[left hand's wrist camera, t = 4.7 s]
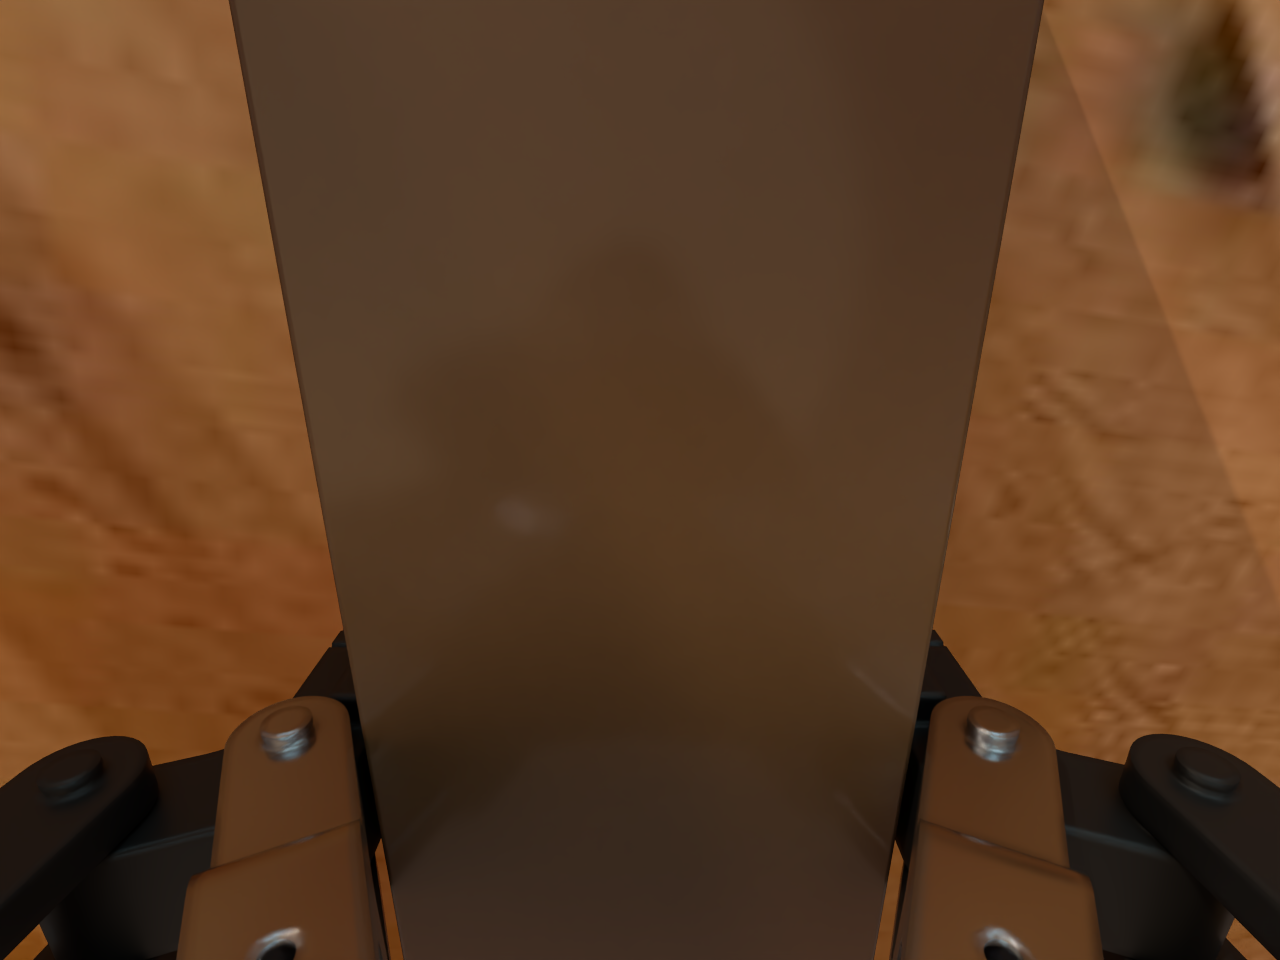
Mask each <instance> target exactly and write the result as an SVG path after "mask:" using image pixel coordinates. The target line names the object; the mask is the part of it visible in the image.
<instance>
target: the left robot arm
mask: <svg viewBox="0 0 1280 960" xmlns="http://www.w3.org/2000/svg"><path fill="white" fill-rule="evenodd" d="M381 838H382V837H381V832H380V826H379V821H378V815H377V810H376V804H375V799H374V793H373V788H372V782H371V777H370V771H369V766H368V760H367V755H366V749H365V744H364V738H363V733H362V728H361V722H360V717H359V711H358V706H357V700H356V695H355V689H354V684H353V678H352V673H351V667H350V662H349V656H348V651H347V645H346V640H345V634H344V630H343V631H340V633H339V634H338V636H337V637H336V638H335V640H334V641H333V643H332V647H329V648H328V650H327V651H326V652H325V654H324V655H323V657H322V658H321V659H320V661H319V662H318V664H317V665H316V666H315V668H314V669H313V671H312V672H311V673H310V675H309V676H308V678H307V679H306V680H305V682H304V683H303V685H302V686H301V687H300V689H299V690H298V692H297V693H296V694H295V696H294V697H293V698H292V699H288V700H284V701H281V702H278V703H275V704H273V705H270V706H268V707H266V708H264V709H262V710H260V711H258V712H256V713H255V714H253V715H252V716H250V717H249V718H247V719H246V720H245V721H243V722H242V723H241V724H240V725H239V726H238V727H237V728H236V729H235V730H234V731H233V733H232V734H231V735H230V736H229V738H228V740H227V742H226V744H225V748H224V749H222V750H220V751H216V752H212V753H209V754H204V755H200V756H195V757H191V758H186V759H182V760H177V761H173V762H168V763H164V764H159V765H155V766H152V764H151V761H150V758H149V755H148V752H147V749H146V747H145V745H144V744H143V743H141V742H140V741H139V740H136V739H134V738H130V737H125V736H110V737H101V738H95V739H91V740H87V741H83V742H80V743H77V744H74V745H71V746H68V747H66V748H63V749H61V750H59V751H56V752H54V753H52V754H50V755H48V756H46V757H44V758H42V759H41V760H39V761H37V762H36V763H34V764H32V765H31V766H29V767H28V768H26V769H25V770H24V771H22V772H21V773H19V774H18V775H17V776H15V777H14V778H13V779H12V780H10V781H9V782H8V783H6V784H5V785H4V786H2V787H1V788H0V960H3V959H4V958H5V957H6V956H7V955H8V954H9V953H10V952H11V951H12V950H13V949H14V948H15V947H16V946H17V945H18V944H19V943H20V942H21V941H22V940H23V939H24V938H25V937H26V936H27V935H28V934H29V933H30V932H31V931H32V930H33V929H34V928H35V927H36V926H37V925H38V924H40V926H41V929H42V931H43V933H44V935H45V938H46V940H47V942H48V945H47V946H46V947H45V948H44V949H43V950H42V951H41V952H40V953H39V954H38V955H37V956H36V957H35V958H34V959H33V960H391V957H390V950H389V942H388V935H387V928H386V921H385V914H384V907H383V899H382V892H381V885H380V878H379V872H378V866H377V861H376V856H375V851H376V849H377V846H378V844H379V842H380V839H381ZM895 840H896V843H897V845H898V848H899V850H900V853H901V855H902V858H903V860H904V861H903V866H902V872H901V878H900V885H899V892H898V899H897V906H896V914H895V921H894V928H893V935H892V942H891V949H890V957H889V960H1247V959H1246V958H1245V957H1244V956H1243V955H1242V954H1241V953H1240V952H1239V951H1238V950H1237V949H1236V948H1235V947H1234V946H1233V945H1232V944H1231V943H1230V942H1229V941H1228V940H1227V938H1226V936H1227V934H1228V931H1229V929H1230V927H1231V925H1232V922H1233V920H1234V918H1236V919H1237V920H1238V921H1239V922H1240V923H1241V924H1242V925H1243V926H1244V927H1245V928H1246V929H1247V930H1248V931H1249V932H1250V933H1251V934H1252V935H1253V936H1254V937H1255V938H1256V939H1257V940H1258V941H1259V942H1260V943H1261V944H1262V945H1263V946H1264V947H1265V948H1266V949H1267V950H1268V951H1269V952H1270V953H1271V954H1272V955H1273V956H1274V957H1275V958H1276V959H1277V960H1280V788H1279V787H1278V786H1276V785H1275V784H1274V783H1272V782H1271V781H1270V780H1268V779H1267V778H1266V777H1265V776H1263V775H1262V774H1261V773H1259V772H1258V771H1257V770H1255V769H1254V768H1253V767H1251V766H1250V765H1248V764H1247V763H1245V762H1244V761H1242V760H1240V759H1239V758H1237V757H1235V756H1234V755H1232V754H1230V753H1228V752H1226V751H1224V750H1222V749H1219V748H1217V747H1214V746H1212V745H1210V744H1207V743H1204V742H1201V741H1198V740H1195V739H1191V738H1187V737H1183V736H1177V735H1170V734H1151V735H1146V736H1143V737H1141V738H1138V739H1137V740H1136V741H1134V742H1133V744H1132V746H1131V747H1130V751H1129V754H1128V757H1127V760H1126V763H1125V765H1123V764H1118V763H1113V762H1109V761H1104V760H1100V759H1095V758H1091V757H1086V756H1082V755H1077V754H1072V753H1068V752H1064V751H1060V750H1057V749H1056V748H1055V745H1054V742H1053V740H1052V738H1051V736H1050V735H1049V734H1048V733H1047V731H1046V730H1045V729H1044V728H1043V727H1042V726H1041V725H1040V724H1039V723H1038V722H1037V721H1035V720H1034V719H1033V718H1031V717H1030V716H1028V715H1027V714H1025V713H1024V712H1022V711H1020V710H1018V709H1016V708H1014V707H1012V706H1010V705H1007V704H1005V703H1002V702H999V701H996V700H992V699H988V698H983V697H982V696H981V695H980V694H979V692H978V691H977V689H976V688H975V686H974V685H973V684H972V682H971V681H970V679H969V678H968V677H967V675H966V674H965V672H964V671H963V669H962V668H961V667H960V665H959V664H958V662H957V661H956V659H955V658H954V657H953V655H952V654H951V652H950V651H949V650H948V648H947V647H946V646H943V641H942V640H941V638H940V637H939V635H938V634H937V633H936V631H935V630H932V634H931V639H930V645H929V651H928V656H927V662H926V667H925V673H924V679H923V684H922V690H921V696H920V701H919V707H918V712H917V718H916V724H915V729H914V735H913V741H912V746H911V752H910V757H909V763H908V769H907V774H906V780H905V786H904V791H903V797H902V802H901V808H900V814H899V819H898V825H897V831H896V836H895Z"/></svg>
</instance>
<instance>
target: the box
mask: <svg viewBox="0 0 1280 960" xmlns="http://www.w3.org/2000/svg"><path fill="white" fill-rule="evenodd" d="M1043 3H1044V0H229V4H230V10H231V15H232V20H233V26H234V31H235V37H236V42H237V48H238V53H239V59H240V64H241V70H242V75H243V81H244V86H245V92H246V97H247V103H248V108H249V114H250V119H251V125H252V130H253V136H254V141H255V147H256V152H257V157H258V163H259V168H260V174H261V179H262V185H263V190H264V196H265V201H266V207H267V212H268V218H269V223H270V229H271V234H272V240H273V245H274V251H275V256H276V262H277V267H278V273H279V278H280V284H281V289H282V295H283V300H284V305H285V311H286V316H287V322H288V327H289V333H290V338H291V344H292V349H293V355H294V360H295V366H296V371H297V377H298V382H299V388H300V393H301V399H302V404H303V410H304V415H305V421H306V426H307V432H308V437H309V443H310V448H311V453H312V459H313V464H314V470H315V475H316V481H317V486H318V492H319V497H320V503H321V508H322V514H323V519H324V525H325V530H326V536H327V541H328V547H329V552H330V558H331V563H332V569H333V574H334V580H335V585H336V590H337V596H338V601H339V607H340V612H341V618H342V623H343V629H344V634H345V640H346V645H347V651H348V656H349V662H350V667H351V673H352V678H353V684H354V689H355V695H356V700H357V706H358V711H359V717H360V722H361V728H362V733H363V738H364V744H365V749H366V755H367V760H368V766H369V771H370V777H371V782H372V788H373V793H374V799H375V804H376V810H377V815H378V821H379V826H380V832H381V837H382V843H383V848H384V854H385V859H386V865H387V870H388V875H389V881H390V886H391V892H392V897H393V903H394V908H395V914H396V919H397V925H398V930H399V936H400V941H401V947H402V952H403V958H404V960H874V954H875V949H876V943H877V938H878V932H879V926H880V921H881V915H882V909H883V904H884V898H885V893H886V887H887V881H888V876H889V870H890V864H891V859H892V853H893V848H894V842H895V836H896V831H897V825H898V819H899V814H900V808H901V802H902V797H903V791H904V786H905V780H906V774H907V769H908V763H909V757H910V752H911V746H912V741H913V735H914V729H915V724H916V718H917V712H918V707H919V701H920V696H921V690H922V684H923V679H924V673H925V667H926V662H927V656H928V651H929V645H930V639H931V634H932V628H933V622H934V617H935V611H936V606H937V600H938V594H939V589H940V583H941V577H942V572H943V566H944V561H945V555H946V549H947V544H948V538H949V532H950V527H951V521H952V516H953V510H954V504H955V499H956V493H957V487H958V482H959V476H960V470H961V465H962V459H963V454H964V448H965V442H966V437H967V431H968V425H969V420H970V414H971V409H972V403H973V397H974V392H975V386H976V380H977V375H978V369H979V364H980V358H981V352H982V347H983V341H984V335H985V330H986V324H987V319H988V313H989V307H990V302H991V296H992V290H993V285H994V279H995V274H996V268H997V262H998V257H999V251H1000V245H1001V240H1002V234H1003V229H1004V223H1005V217H1006V212H1007V206H1008V200H1009V195H1010V189H1011V184H1012V178H1013V172H1014V167H1015V161H1016V155H1017V150H1018V144H1019V139H1020V133H1021V127H1022V122H1023V116H1024V110H1025V105H1026V99H1027V93H1028V88H1029V82H1030V77H1031V71H1032V65H1033V60H1034V54H1035V48H1036V43H1037V37H1038V32H1039V26H1040V20H1041V15H1042V9H1043Z"/></svg>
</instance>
